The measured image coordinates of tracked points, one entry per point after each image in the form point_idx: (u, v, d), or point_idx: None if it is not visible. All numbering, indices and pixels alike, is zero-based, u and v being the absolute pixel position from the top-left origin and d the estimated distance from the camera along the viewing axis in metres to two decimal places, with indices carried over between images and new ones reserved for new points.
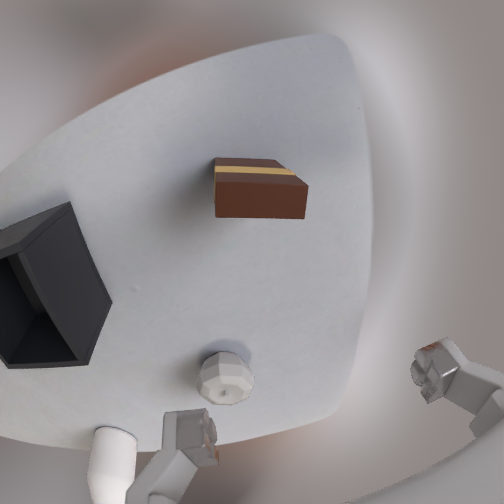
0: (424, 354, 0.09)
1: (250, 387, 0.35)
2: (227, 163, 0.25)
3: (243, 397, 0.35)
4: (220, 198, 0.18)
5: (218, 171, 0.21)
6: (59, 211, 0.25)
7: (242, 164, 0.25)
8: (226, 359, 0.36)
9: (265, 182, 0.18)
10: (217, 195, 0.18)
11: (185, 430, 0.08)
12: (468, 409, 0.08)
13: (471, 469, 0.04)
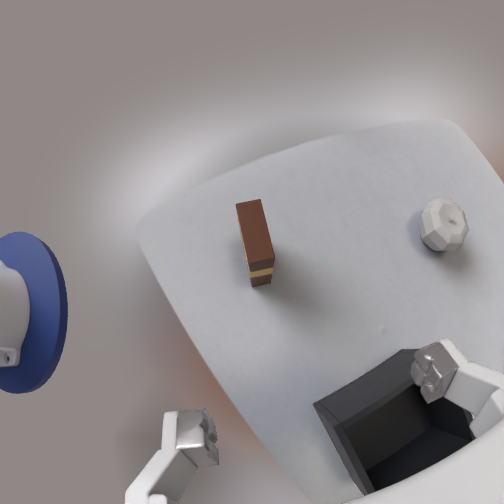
0: (424, 354, 0.09)
1: (437, 199, 0.33)
2: None
3: (450, 202, 0.33)
4: (260, 257, 0.26)
5: (249, 270, 0.29)
6: (318, 408, 0.29)
7: None
8: (422, 230, 0.35)
9: (241, 231, 0.27)
10: (258, 260, 0.26)
11: (185, 430, 0.08)
12: (468, 409, 0.08)
13: (471, 469, 0.04)
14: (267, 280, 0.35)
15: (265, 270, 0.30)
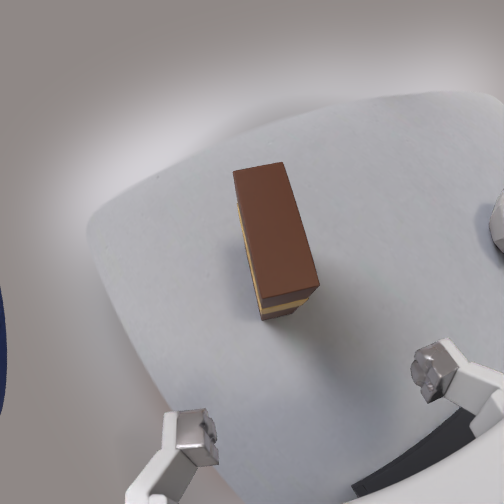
0: (424, 354, 0.09)
1: None
2: None
3: None
4: (287, 285, 0.12)
5: (260, 305, 0.15)
6: None
7: None
8: (499, 228, 0.20)
9: (245, 227, 0.12)
10: (283, 291, 0.12)
11: (185, 430, 0.08)
12: (468, 409, 0.08)
13: (471, 469, 0.04)
14: (288, 312, 0.20)
15: (291, 303, 0.15)
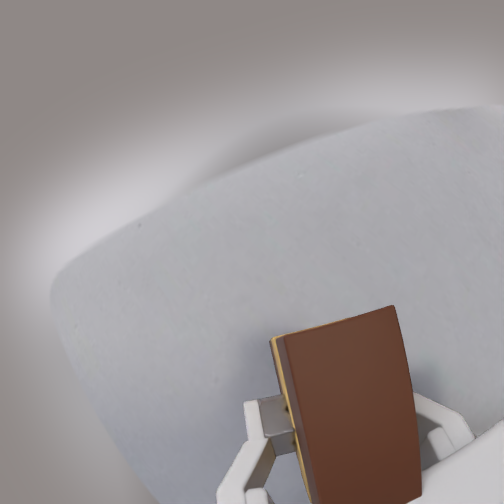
0: None
1: None
2: None
3: None
4: None
5: (309, 497, 0.07)
6: None
7: None
8: None
9: (312, 468, 0.05)
10: None
11: (271, 417, 0.08)
12: None
13: (471, 469, 0.04)
14: None
15: None
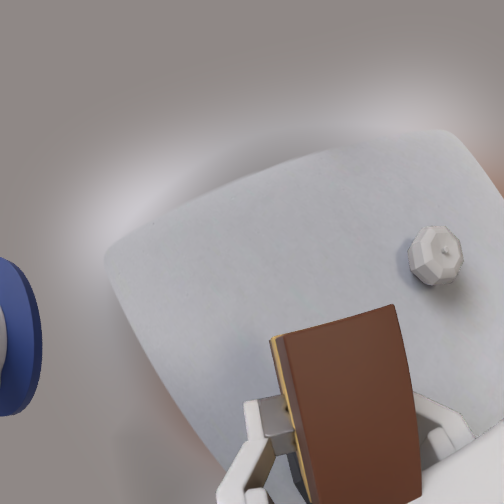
0: None
1: (430, 228, 0.30)
2: None
3: (444, 230, 0.30)
4: None
5: (309, 497, 0.07)
6: None
7: None
8: (411, 262, 0.32)
9: (311, 468, 0.05)
10: None
11: (271, 417, 0.08)
12: None
13: (471, 469, 0.04)
14: None
15: None
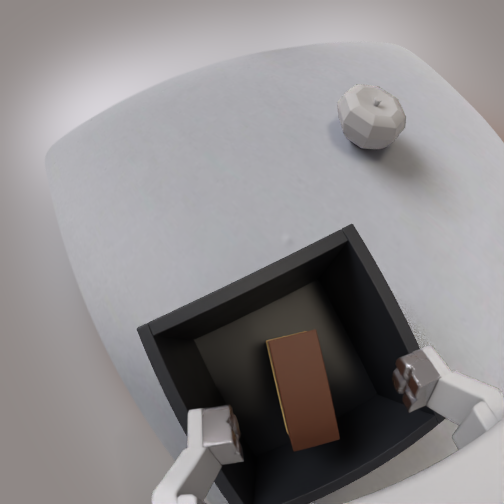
0: (404, 362, 0.09)
1: (357, 84, 0.27)
2: None
3: (375, 87, 0.26)
4: (314, 441, 0.12)
5: (287, 430, 0.15)
6: None
7: None
8: (341, 120, 0.28)
9: (280, 397, 0.13)
10: (311, 446, 0.12)
11: (212, 427, 0.08)
12: (451, 419, 0.07)
13: (471, 469, 0.04)
14: None
15: None
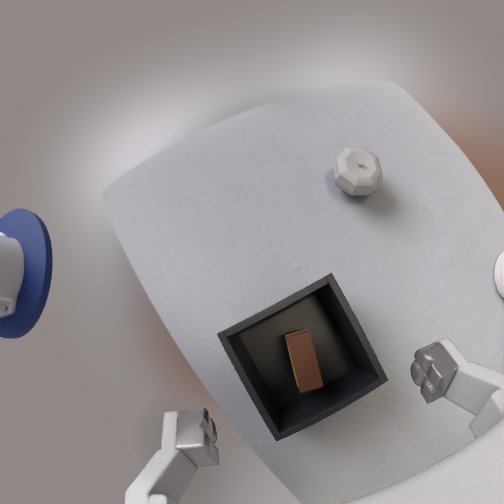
0: (424, 354, 0.09)
1: (346, 148, 0.39)
2: None
3: (361, 149, 0.39)
4: (310, 387, 0.27)
5: (297, 384, 0.30)
6: None
7: None
8: (334, 177, 0.41)
9: (293, 364, 0.27)
10: (309, 389, 0.27)
11: (185, 430, 0.08)
12: (468, 409, 0.08)
13: (471, 469, 0.04)
14: None
15: None
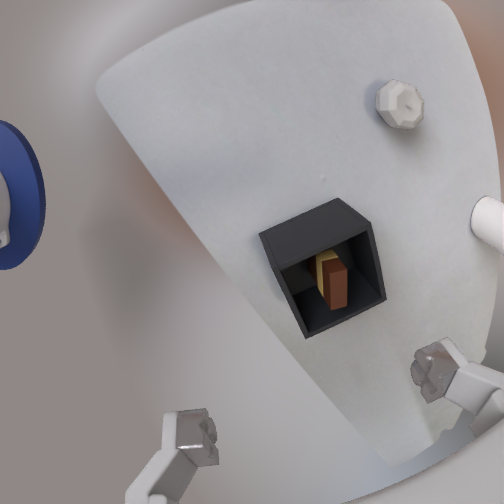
0: (424, 354, 0.09)
1: (400, 84, 0.31)
2: (314, 276, 0.44)
3: (412, 90, 0.31)
4: (338, 306, 0.38)
5: (322, 295, 0.41)
6: (262, 241, 0.42)
7: (314, 270, 0.44)
8: (377, 103, 0.35)
9: (330, 292, 0.37)
10: (337, 308, 0.38)
11: (185, 430, 0.08)
12: (468, 409, 0.08)
13: (471, 469, 0.04)
14: None
15: None
